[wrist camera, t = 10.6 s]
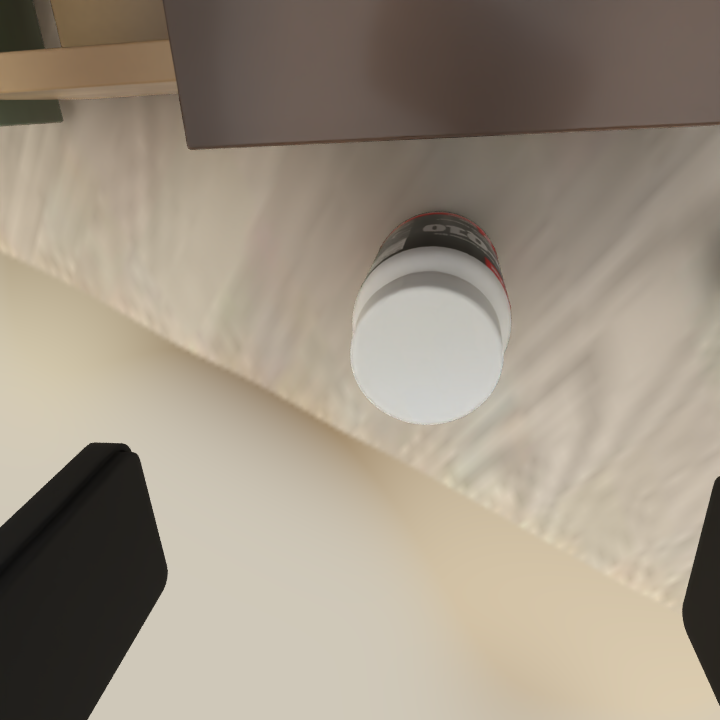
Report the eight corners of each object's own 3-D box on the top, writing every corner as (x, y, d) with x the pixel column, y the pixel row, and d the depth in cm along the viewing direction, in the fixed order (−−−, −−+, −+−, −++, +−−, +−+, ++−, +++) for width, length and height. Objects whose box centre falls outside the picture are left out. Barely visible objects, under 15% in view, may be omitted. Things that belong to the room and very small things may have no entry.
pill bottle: (524, 261, 21) (563, 350, 14) (443, 348, 23) (439, 467, 16) (427, 182, 21) (413, 231, 13) (353, 278, 23) (303, 369, 15)
